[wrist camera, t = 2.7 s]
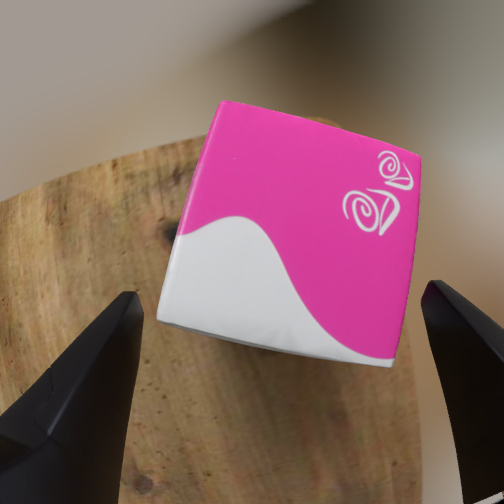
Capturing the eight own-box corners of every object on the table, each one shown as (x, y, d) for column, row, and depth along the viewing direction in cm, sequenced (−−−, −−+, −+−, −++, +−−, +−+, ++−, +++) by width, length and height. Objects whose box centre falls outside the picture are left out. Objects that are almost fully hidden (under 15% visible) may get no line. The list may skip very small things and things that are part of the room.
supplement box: (308, 331, 18) (395, 380, 6) (206, 307, 18) (137, 323, 7) (330, 234, 18) (428, 150, 7) (231, 210, 19) (207, 92, 7)
